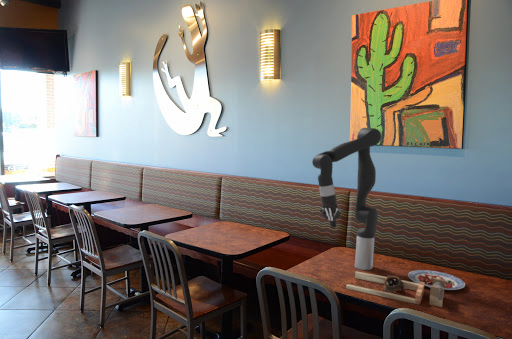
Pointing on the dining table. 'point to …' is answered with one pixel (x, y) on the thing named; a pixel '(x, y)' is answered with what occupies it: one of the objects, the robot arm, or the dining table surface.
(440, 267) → the dining table surface
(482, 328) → the dining table surface
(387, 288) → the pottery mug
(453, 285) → the ceramic plate
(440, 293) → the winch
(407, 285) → the bay
